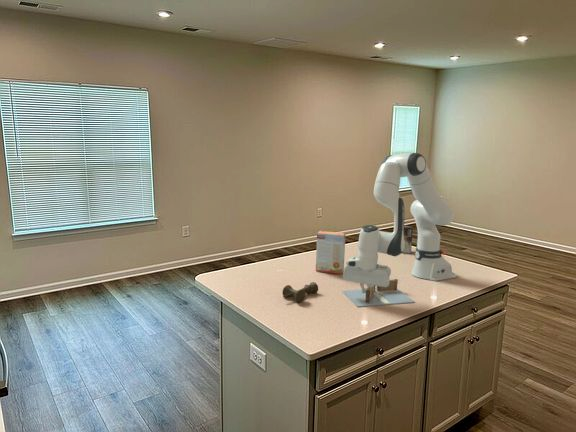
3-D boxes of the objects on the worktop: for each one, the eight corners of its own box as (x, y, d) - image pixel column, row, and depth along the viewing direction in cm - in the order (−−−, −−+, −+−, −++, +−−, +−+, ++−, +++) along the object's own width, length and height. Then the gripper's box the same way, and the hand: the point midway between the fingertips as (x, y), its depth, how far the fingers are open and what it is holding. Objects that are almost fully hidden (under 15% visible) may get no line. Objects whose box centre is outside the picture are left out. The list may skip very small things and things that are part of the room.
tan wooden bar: (371, 289, 203) (372, 279, 202) (375, 290, 202) (376, 280, 201) (364, 301, 188) (365, 291, 187) (369, 302, 188) (369, 291, 187)
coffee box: (410, 250, 273) (412, 225, 270) (411, 253, 267) (413, 228, 263) (395, 249, 274) (397, 224, 271) (395, 252, 268) (397, 227, 265)
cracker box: (343, 271, 230) (346, 232, 226) (341, 274, 225) (343, 235, 220) (318, 267, 235) (319, 230, 230) (315, 271, 229) (316, 232, 225)
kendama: (322, 296, 197) (290, 306, 183) (307, 290, 204) (275, 300, 190) (323, 283, 196) (291, 293, 182) (307, 278, 203) (275, 287, 189)
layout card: (395, 287, 208) (396, 276, 207) (414, 302, 191) (416, 290, 190) (342, 291, 202) (342, 280, 201) (357, 307, 185) (358, 294, 183)
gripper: (392, 264, 189) (389, 294, 192) (346, 257, 197) (344, 286, 199) (390, 268, 183) (387, 299, 186) (342, 261, 191) (340, 291, 194)
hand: (364, 292), depth 193 cm, fingers closed
